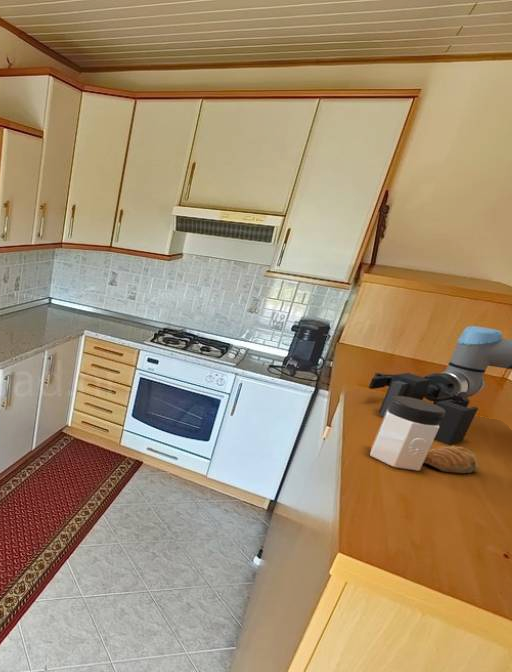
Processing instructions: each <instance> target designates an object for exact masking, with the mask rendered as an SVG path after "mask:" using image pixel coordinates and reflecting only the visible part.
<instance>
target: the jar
mask: <svg viewBox="0 0 512 672" xmlns="http://www.w3.org/2000/svg"><path fill="white" fill-rule="evenodd" d="M444 414H445V410H444V409H443V408H441V407H440V406H437V405H435V404H433V403H432V402H431V401H430V402H429V401H426V400H424V399H423V400H419V399H415V398H410V397H404V396H394V397H392V398H391V401H390V403H389V406H388V408H387V411H386V413H385V415H384V417H382V421H381V423H380V425H379V428H378V430H377V433H376V435H375V436H374V437H375V438H374V440H373V443H372V445H371V447H370V453H369V456H370V457H371V458H373V459H376V460H378V461H380V462H382V463H384V464H386V465H389V466H391V467H393V468H396V469H403V470H410V471H416V472H419V471H421V469H422V466H423V464H424V460H425V458H426V456H427V454H428V451H429V450H431V447H432V445H433V443H434V440H435V439H434V438H435V436H436V434H437V432H438V429H439V424H440V423H441V421H442V420H443V418H444Z"/></svg>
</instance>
